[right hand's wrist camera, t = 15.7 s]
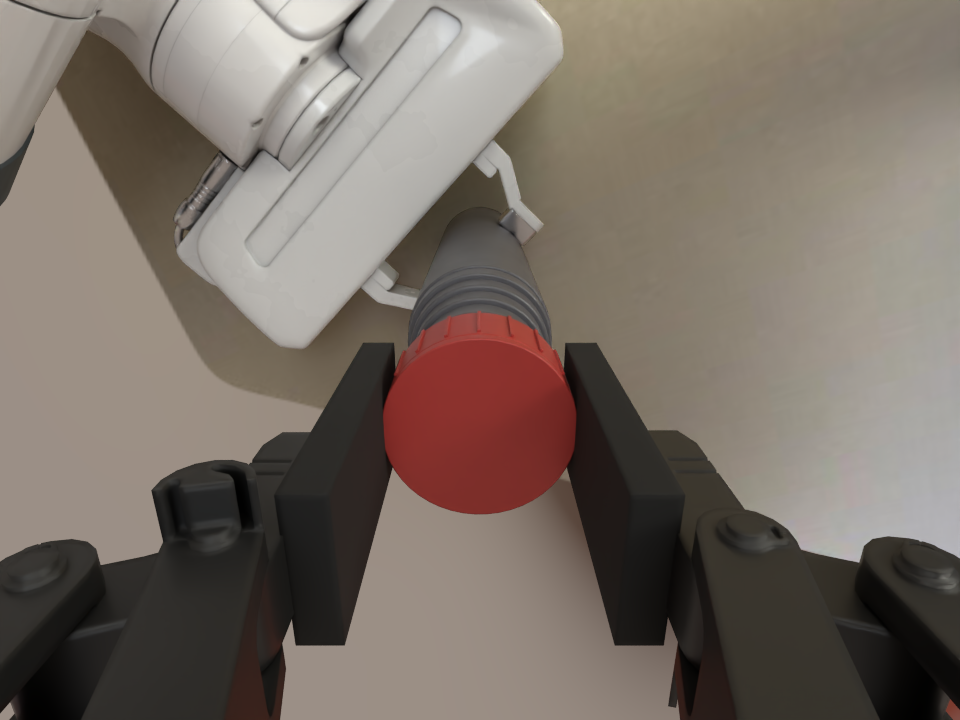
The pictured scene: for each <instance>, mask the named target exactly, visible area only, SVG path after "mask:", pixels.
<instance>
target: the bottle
mask: <svg viewBox="0 0 960 720" xmlns="http://www.w3.org/2000/svg"><path fill="white" fill-rule="evenodd" d="M501 215H502V214H501V213H499V212H497V211H495V210H493V209H489V208H483V207H476V208H471V209H467V210H465V211H463V212H461V213H459V214H458V215H457V216H455V217H454V218H453V219H452V220H451V221H450V223H449V224H448V226H447V228H446V230H445V232H444V234H443V237H442V239H441V242H440V244H439V247H438V249H437V251H436V254H435V256H434V259H433V261H432V264H431V266H430V269H429V271H428V273H427V276H426V278H425V281H424V283H423V286H422V288H421V291H420V293H419V295H418V298H417V300H416V303H415V305H414V308H413V311H412V314H411V317H410V322H409V332H408V348H409V346H410V345H411V344H412V342H413V341H414V340H415V339H416V338H417V337H418V336H419V335H420V333H421V331H422V330H423V329H424V330H425V331H426V330H427V329H428V328H430V327H431V326H433V325H435V324H437V323H438V322H441V321H443V320H445V319H447V316H451V317H454V316H458V315H462V314H469V313H477V311H481V313H490V314H497V315H502V316H506V317H508V315H509V316H511V318H512V319H514V320H517V321H519V322H521V323H523V324H525V325H527V326H528V327H530V328H531V329H533V330H534V329H536V330H538V334H539V335H540V336H541V337H542V338H543V339H544V340H545V341H546V342H547V343H548V344H549V346H550V347H552V336H551V325H550V318H549V315H548V311H547V309H546V306H545V304H544V301H543V299H542V296H541V294H540V291H539V289H538V286H537V284H536V282H535V279H534V277H533V274H532V272H531V269H530V267H529V264H528V262H527V259H526V257H525V254H524V252H523V249H522V247H521V245H520V243H519V242H518V241H517V240H516V238H515V237H514V234H513V233H511V232H508V231H507V230H506V229H505V228H504V227H503V226H502V225H501V224H500V223H499V220H498V218H499V217H500V216H501Z"/></svg>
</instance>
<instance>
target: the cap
mask: <svg viewBox="0 0 960 720" xmlns="http://www.w3.org/2000/svg"><path fill="white" fill-rule="evenodd" d="M576 415H577V411H576V407H575V403H574V398H573V395H572V393H571V390H570V387H569V385H568V382H567V379H566V376H565V372H564V370H563V367H562V364H561V362H560V359H559V356H558V353H557V351H556V350H553V349H552V348H551V347H550V346H549V344H548V343H547V342H546V341H545V340H544V339H543V338H542V337H541V336H540V335H539V334H538V330H536V329H534V330H533V329H531V328H530V327H528V326H527V325H525V324H523V323H521V322H519V321H517V320H514V319H512V318H511V316H509V315H508V317H506V316H502V315H497V314H490V313H481V311H477V313H469V314H462V315H458V316H454V317H451V316H447V319H445V320H443V321H441V322H438V323H437V324H435V325H433V326H431V327H430V328H428V329H427V330H426V331H425V330H424V329H423V330H422V331H421V333H420V335H419V336H418V337H417V338H416V339H415V340H414V341H413V342H412V344H411V345H410V346H409V348H408V349H407V350H406V351H404V350H403V352H402V354H401V357H400V360H399V362H398V365H397V368H396V370H395V373H394V379H393V382H392V384H391V387H390V390H389V393H388V395H387V398H386V401H385V404H384V408H383V423H384V439H385V451H386V454H387V456H388V459H389V461H390V463H391V465H392V466H393V468H394V470H395V471H396V473H397V474H398V475H399V477H400V478H401V479H402V481H403V482H404V483H405V484H406V485H407V486H408V487H409V488H410V489H412V490H413V491H414V492H415V493H416V494H418V495H419V496H421V497H422V498H424V499H425V500H427V501H429V502H431V503H433V504H435V505H437V506H439V507H442V508H445V509H448V510H451V511H456V512H460V513H467V514H492V513H500V512H504V511H508V510H512V509H515V508H517V507H520V506H523V505H525V504H527V503H529V502H531V501H533V500H534V499H536V498H537V497H539V496H540V495H542V494H543V493H544V492H546V491H547V490H548V489H549V488H550V487H551V486H552V485H553V484H554V483H555V482H556V481H557V480H558V479H559V478H560V476H561V475H562V473H563V472H564V470H565V469H566V467H567V466H568V464H569V462H570V460H571V458H572V455H573V452H574V446H575V431H576Z"/></svg>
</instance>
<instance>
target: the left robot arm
mask: <svg viewBox="0 0 960 720" xmlns="http://www.w3.org/2000/svg"><path fill="white" fill-rule="evenodd" d="M87 30H89V31H90V32H92V33H94V34H96V35H98V36H100V37H102V38H104V39H106V40H107V41H109V42H110V43H111V44H113V45H114V46H116V47H117V48H118V49H119V50H120V51H122V52H123V53H124V55H125V56H126V57H127V58H128V59H129V60H130V61H131V62H132V64H133V65H134V66H135V68H136V69H137V71H138V72H139V74H140V75H141V77H142V78H143V80H144V81H145V82H146V84H147V85H148V86H149V87H150V88H151V89H152V90H153V91H154V92H155V93H156V94H157V95H158V96H159V97H160V98H161V99H163V100H164V101H165V102H166V103H167V104H168V105H169V106H171V107H172V108H173V109H174V110H175V111H176V112H177V113H179V114H180V115H181V116H182V117H183V118H184V119H185V120H187V121H188V122H189V123H190V124H191V125H192V126H193V127H194V128H196V129H197V130H198V131H199V132H200V133H201V134H202V135H204V136H205V137H206V138H207V139H208V140H209V141H211V142H212V143H213V144H214V145H215V146H216V147H217V148H218V149H220V151H219V153H217V155H216V156H215V157H214V159H213V161H212V162H211V163H210V165H209V166H208V167H207V169H206V170H205V171H204V173H203V175H202V176H201V178H200V180H199V182H198V184H197V185H196V187H195V189H194V190H193V192H192V193H191V194H190V196H189V197H188V198H185V199H184V200H183V201H182V202H181V204H180V205H179V206H178V208H177V210H176V212H175V214H174V217H173V221H174V222H175V224H176V227H175V232H174V242H175V246H176V249H177V254H178V256H179V258H180V259H181V260H182V261H183V262H184V264H186V265H187V266H188V267H189V268H190V269H192V270H193V271H194V272H195V273H197V274H198V275H199V276H200V277H202V278H203V279H204V280H205V281H207V282H208V283H210V284H212V285H215V286H217V287H218V288H219V289H220V290H221V291H222V292H223V293H224V294H225V295H226V297H227V298H228V299H229V300H230V301H231V302H232V303H233V304H234V305H235V306H236V307H237V308H238V309H239V310H240V311H241V312H242V313H243V314H244V315H245V316H246V317H247V318H248V319H249V320H250V321H251V322H252V323H253V324H254V325H255V326H256V327H257V328H258V329H259V330H260V331H261V332H263V333H264V334H265V335H266V336H267V337H268V338H269V339H270V340H272V341H273V342H274V343H275V344H277V345H278V346H280V347H283V348H293V349H305V348H307V347H308V346H309V344H310V343H311V342H312V341H313V340H314V339H315V338H316V337H317V336H318V335H319V333H320V332H321V331H322V330H323V329H324V328H325V327H326V326H327V325H328V323H329V322H330V321H331V320H332V319H333V318H334V317H335V316H336V314H337V313H338V312H339V311H340V310H341V309H342V308H343V306H344V305H345V304H346V303H347V302H348V301H349V300H350V298H351V297H352V296H353V295H354V294H355V293H356V292H357V291H358V289H359V288H362V289H363V290H364V291H365V292H366V293H367V294H368V295H370V296H371V297H372V298H373V299H374V300H375V301H376V302H378V303H381V304H386V305H391V306H395V307H400V308H405V309H410V310H413V308H414V305H415V303H416V300H417V298H418V295H419V293H420V291H421V290H419V289H415V288H411V287H407V286H403V285H400V284H396V283H395V282H396V280H397V279H398V277H399V273H398V272H397V271H396V270H395V269H394V268H393V267H391V266H390V265H389V264H388V263H387V262H386V261H385V259H386V258H387V257H388V256H389V255H390V253H391V252H392V251H393V250H394V249H395V248H396V247H397V246H398V244H399V243H400V242H401V241H402V240H403V239H404V238H405V237H406V235H407V234H408V233H409V232H410V231H411V230H412V229H413V228H414V227H415V225H416V224H417V223H418V222H419V221H420V220H421V219H422V218H423V216H424V215H425V214H426V213H427V212H428V211H429V210H430V209H431V207H432V206H433V205H434V204H435V203H436V202H437V201H438V200H439V198H440V197H441V196H442V195H443V194H444V193H445V192H446V191H447V189H448V188H449V187H450V186H451V185H452V184H453V183H454V182H455V180H456V179H457V178H458V177H459V176H460V175H461V174H462V173H463V171H464V170H465V169H466V168H467V167H468V166H469V165H470V164H471V162H472V163H473V164H475V165H476V166H477V167H478V168H479V169H480V170H481V171H482V172H483V173H484V174H485V175H486V176H487V177H488V178H491V177H492V176H493V175H494V174H495V173H496V168H497V169H498V172H499V176H500V179H501V183H502V186H503V190H504V194H505V197H506V201H507V204H508V208H507V209H506V210H505V211H504V212H503V214H502V215H501V216H500V217H499V218H498V220H499V223H500V224H501V225H502V226H503V227H504V228H505V229H506V230H507V231H508V232H511V233H513V234H514V237H515V238H516V240H517V241H518V242H519V243H520V244H521V245H523V246H525V245H526V244H527V243H528V242H529V241H530V240H531V239H532V238H533V237H534V236H535V235H536V234H537V232H538V231H539V230H540V229H541V228H542V227H543V226H544V224H543V223H542V222H541V221H540V220H539V219H538V217H537V216H536V215H535V214H534V213H533V212H532V211H531V210H530V209H529V208H528V207H527V206H526V205H525V204H524V203H523V202H522V201H521V200H520V199H521V196H520V192H519V188H518V185H517V181H516V177H515V173H514V169H513V166H512V162H511V158H510V157H509V156H508V155H507V154H506V153H505V152H504V151H503V150H502V149H501V147H500V146H499V145H498V144H497V143H496V142H495V141H494V140H493V138H494V137H495V136H496V134H497V133H498V132H499V131H500V130H501V129H502V128H503V127H504V125H505V124H506V123H507V122H508V121H509V120H510V119H511V118H512V116H513V115H514V114H515V113H516V112H517V111H518V110H519V109H520V108H521V107H522V106H523V104H524V103H525V102H526V101H527V100H528V99H529V98H530V97H531V95H532V94H533V93H534V92H535V91H536V90H537V89H538V88H539V86H540V85H541V84H542V83H543V82H544V81H545V80H546V79H547V77H548V76H549V75H550V74H551V73H552V72H553V71H554V70H555V69H556V67H557V66H558V65H559V64H560V63H561V61H562V60H563V54H564V49H563V37H562V31H561V29H560V27H559V25H558V24H557V22H556V21H555V20H554V19H553V17H552V16H551V15H550V14H549V13H548V12H547V11H546V10H545V9H544V8H543V7H542V6H541V4H540V3H539V2H538V1H537V0H0V206H1V204H2V203H3V202H4V201H5V200H6V198H7V196H8V194H9V192H10V190H11V187H12V185H13V182H14V180H15V177H16V175H17V172H18V170H19V167H20V165H21V163H22V160H23V158H24V155H25V153H26V150H27V148H28V145H29V143H30V140H31V138H32V135H33V133H34V126H35V123H36V121H37V119H38V117H39V116H40V114H41V112H42V110H43V108H44V107H45V105H46V103H47V101H48V99H49V97H50V96H51V94H52V92H53V90H54V89H55V87H56V85H57V83H58V81H59V80H60V78H61V76H62V74H63V72H64V71H65V69H66V67H67V65H68V63H69V62H70V60H71V58H72V56H73V54H74V53H75V51H76V49H77V47H78V45H79V44H80V42H81V40H82V38H83V36H84V35H85V33H86V31H87ZM184 230H190V231H189V233H188V234H187V235H186V237H185V238H184V239H183V232H184Z"/></svg>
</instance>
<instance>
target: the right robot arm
mask: <svg viewBox="0 0 960 720" xmlns="http://www.w3.org/2000/svg"><path fill="white" fill-rule="evenodd" d="M395 370H396V369H395V351H394V343H363V344H362V346H361V347H360V349H359V351H358V353H357V354H356V356H355V358H354V359H353V361H352V363H351V364H350V366H349V368H348V370H347V371H346V373H345V375H344V376H343V378H342V380H341V381H340V383H339V385H338V387H337V388H336V390H335V392H334V393H333V395H332V397H331V399H330V400H329V402H328V404H327V405H326V407H325V409H324V410H323V412H322V414H321V416H320V417H319V419H318V421H317V422H316V424H315V426H314V428H313V429H312V431H311V432H283V433H281V434H279V435H278V436H276V437H275V438H273V439H272V440H270V441H269V442H267V443H266V444H264V445H263V446H262V447H261V449H260V450H259V452H258V453H257V454H256V456H255V457H254V458H253V460H252V463H250V464H249V465H248V464H247V463H243V462H239V461H234V460H214V461H208V462H203V463H198V464H194V465H191V466H188V467H185V468H183V469H180V470H177V471H175V472H174V473H172V474H170V475H169V476H167V477H165V478H164V479H162V480H161V481H160V482H159V483H158V484H157V485H156V486H155V487H154V488H153V489H152V495H153V499H154V504H155V508H156V512H157V517H158V521H159V525H160V530H161V534H162V538H163V544H162V546H161V548H160V550H159V552H158V553H155V554H152V555H148V556H144V557H139V558H134V559H130V560H125V561H120V562H115V563H110V564H105V565H100V562H99V558H98V554H97V551H96V548H94V547H93V546H92V545H91V544H90V543H88V542H86V541H80V540H74V539H69V540H59V541H50V542H45V543H41V544H40V545H38V544H37V545H34V546H31V547H28V548H25V549H24V550H22V551H20V552H18V553H16V554H14V555H11V556H9V557H7V558H5V559H4V560H2V561H1V562H0V713H1V712H2V711H3V710H4V708H5V707H6V706H7V705H8V704H9V703H11V705H12V708H13V710H14V713H15V714H14V715H13V716H12V717H11V719H10V720H280V715H281V706H282V698H283V689H284V681H285V672H286V666H285V659H284V652H283V646H282V642H283V639H284V637H285V635H286V632H287V630H288V627H289V625H290V622H291V619H292V623H293V630H294V637H295V644H296V645H345V642H346V638H347V635H348V631H349V627H350V624H351V620H352V616H353V612H354V609H355V605H356V601H357V598H358V594H359V590H360V586H361V583H362V579H363V575H364V572H365V568H366V564H367V560H368V557H369V553H370V549H371V546H372V542H373V538H374V534H375V531H376V527H377V523H378V519H379V516H380V512H381V508H382V505H383V501H384V497H385V493H386V490H387V486H388V482H389V478H390V475H391V471H392V468H393V466H392V465H391V463H390V461H389V459H388V456H387V454H386V451H385V439H384V423H383V408H384V404H385V401H386V398H387V395H388V393H389V390H390V387H391V384H392V382H393V379H394V373H395ZM564 372H565V376H566V379H567V382H568V385H569V387H570V390H571V393H572V395H573V398H574V403H575V407H576V411H577V415H576V431H575V446H574V452H573V455H572V458H571V460H570V462H569V464H568V466H567V469H568V473H569V477H570V480H571V484H572V488H573V491H574V495H575V499H576V503H577V507H578V510H579V514H580V518H581V521H582V525H583V529H584V532H585V536H586V540H587V544H588V547H589V551H590V555H591V559H592V562H593V566H594V570H595V573H596V577H597V581H598V585H599V588H600V592H601V596H602V599H603V603H604V607H605V611H606V614H607V618H608V622H609V625H610V629H611V633H612V637H613V640H614V644H615V645H664V640H665V633H666V626H667V619H668V618H669V620H670V623H671V625H672V628H673V631H674V633H675V636H676V638H677V641H678V646H677V652H676V659H675V665H674V671H673V678H672V684H671V691H670V697H669V705H668V706H670V707H676V705H677V699H678V705H679V713H680V720H953V719H952V718H951V717H950V716H949V715H948V713H947V712H946V708H947V706H948V703H949V701H950V699H951V700H952V701H953V702H954V704H955V705H956V706H957V707H958V708H959V709H960V559H959V558H958V557H956V556H955V555H953V554H951V553H948V552H946V551H944V550H942V549H940V548H938V547H936V546H934V545H932V544H929V543H926V542H923V541H922V542H919V540H914V539H909V538H899V537H882V538H876V539H872V540H871V541H870V542H869V543H867V544H866V545H865V546H864V548H863V552H862V555H861V559H860V563H858V562H853V561H848V560H843V559H838V558H833V557H828V556H823V555H818V554H814V553H810V552H806V551H803V550H801V549H800V547H799V545H798V543H797V541H796V540H795V538H794V537H793V536H792V534H791V533H790V532H789V530H788V529H786V528H785V527H783V526H782V525H781V524H779V523H778V522H776V521H775V520H773V519H771V518H769V517H766V516H764V515H762V514H759V513H757V512H754V511H749V510H745V509H744V508H743V506H742V505H741V504H740V502H739V501H738V499H737V498H736V497H735V495H734V494H733V492H732V491H731V490H730V488H729V487H728V486H727V484H726V483H725V481H724V480H723V479H722V477H721V476H720V475H719V473H716V469H715V468H714V466H713V465H712V464H711V462H710V461H707V457H706V455H705V454H704V453H703V451H702V450H701V448H700V447H699V446H698V444H697V443H696V442H694V441H693V440H691V439H689V438H688V437H686V436H685V435H683V434H682V433H680V432H679V431H648V430H647V428H646V427H645V425H644V423H643V422H642V420H641V418H640V416H639V415H638V413H637V411H636V410H635V408H634V406H633V405H632V403H631V401H630V399H629V398H628V396H627V394H626V393H625V391H624V389H623V387H622V386H621V384H620V382H619V381H618V379H617V377H616V376H615V374H614V372H613V370H612V369H611V367H610V365H609V364H608V362H607V360H606V358H605V357H604V355H603V353H602V352H601V350H600V348H599V347H598V345H597V343H565V360H564Z"/></svg>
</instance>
